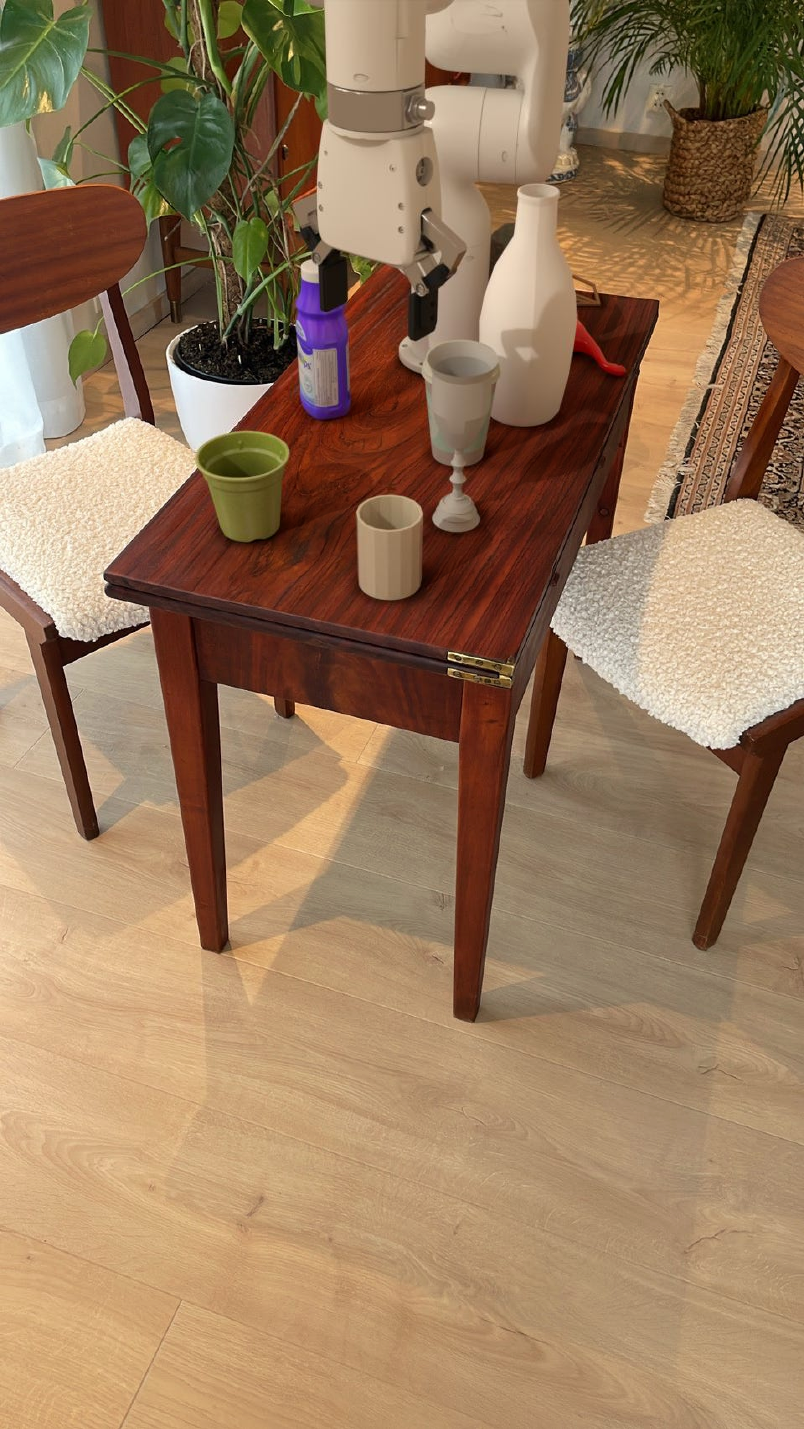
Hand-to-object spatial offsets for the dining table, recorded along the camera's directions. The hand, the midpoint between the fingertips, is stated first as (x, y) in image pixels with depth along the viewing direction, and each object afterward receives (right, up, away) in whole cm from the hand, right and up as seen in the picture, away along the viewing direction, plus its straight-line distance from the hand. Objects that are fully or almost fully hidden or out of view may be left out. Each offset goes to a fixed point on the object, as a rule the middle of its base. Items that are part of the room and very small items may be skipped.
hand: (377, 321), depth 101 cm
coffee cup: (+9, -5, +31) cm, 33 cm away
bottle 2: (+17, +2, +39) cm, 42 cm away
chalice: (+8, -14, +22) cm, 27 cm away
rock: (+15, +20, +50) cm, 56 cm away
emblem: (+26, +25, +63) cm, 73 cm away
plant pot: (-14, -15, +20) cm, 29 cm away
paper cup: (+1, -21, +13) cm, 25 cm away
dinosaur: (+23, +18, +52) cm, 60 cm away
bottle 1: (-7, +2, +39) cm, 39 cm away
